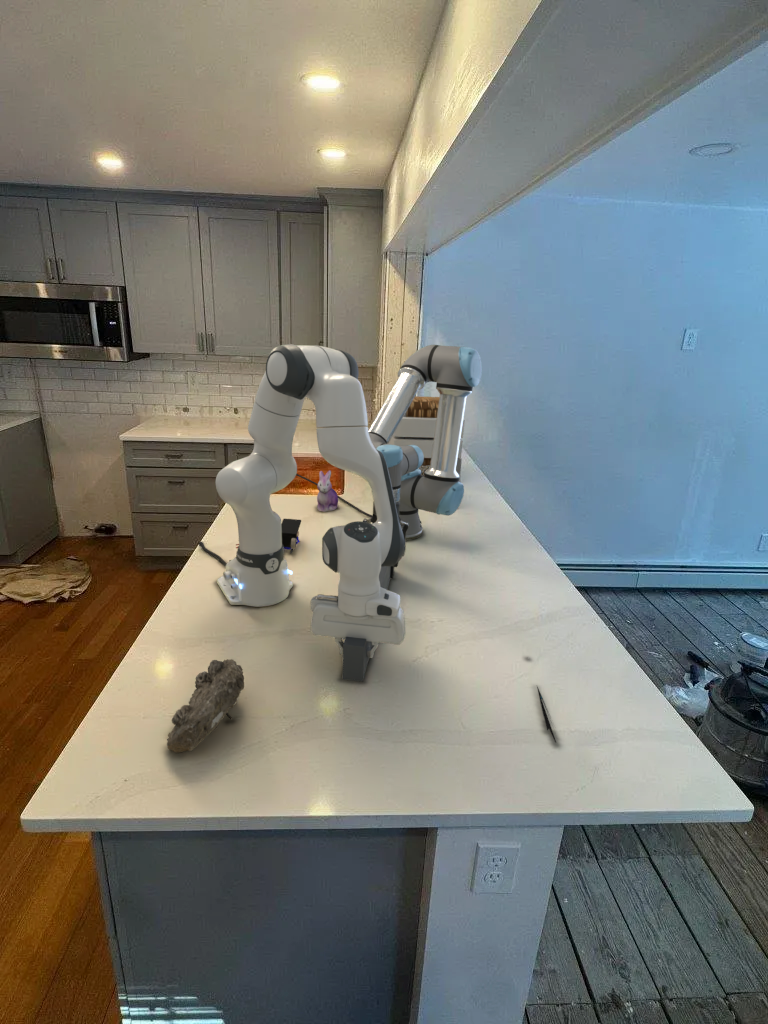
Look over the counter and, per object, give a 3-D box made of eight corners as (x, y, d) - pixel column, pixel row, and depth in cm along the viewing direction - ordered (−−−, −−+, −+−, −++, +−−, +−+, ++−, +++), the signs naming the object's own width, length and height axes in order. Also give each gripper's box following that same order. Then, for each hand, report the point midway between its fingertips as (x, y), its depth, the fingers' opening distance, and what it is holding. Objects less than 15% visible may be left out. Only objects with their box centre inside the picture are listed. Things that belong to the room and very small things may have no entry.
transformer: (382, 463, 289) (386, 382, 275) (445, 464, 293) (451, 384, 279) (390, 482, 257) (394, 392, 243) (460, 483, 261) (468, 394, 247)
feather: (528, 662, 131) (533, 656, 131) (556, 747, 105) (562, 740, 104) (522, 659, 131) (527, 652, 130) (548, 742, 104) (555, 735, 104)
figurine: (320, 513, 215) (320, 475, 210) (311, 505, 224) (311, 468, 219) (343, 510, 219) (344, 473, 214) (333, 502, 228) (333, 466, 223)
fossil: (192, 660, 117) (244, 628, 112) (224, 691, 120) (276, 661, 115) (142, 746, 98) (202, 712, 93) (182, 779, 101) (242, 748, 96)
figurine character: (297, 560, 179) (302, 537, 192) (296, 539, 175) (302, 517, 189) (275, 559, 178) (282, 536, 192) (274, 538, 175) (281, 516, 189)
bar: (377, 569, 172) (379, 543, 169) (392, 571, 172) (393, 544, 169) (342, 679, 121) (342, 644, 118) (362, 681, 120) (364, 646, 117)
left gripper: (306, 600, 117) (307, 657, 122) (404, 610, 115) (401, 668, 120) (314, 586, 123) (314, 641, 128) (407, 596, 121) (404, 651, 126)
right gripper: (353, 502, 157) (351, 578, 165) (416, 507, 155) (411, 584, 163) (358, 494, 164) (356, 567, 172) (418, 499, 162) (413, 572, 170)
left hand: (357, 654), depth 124 cm, fingers closed on bar, 4 cm apart
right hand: (383, 575), depth 167 cm, fingers closed on bar, 4 cm apart
